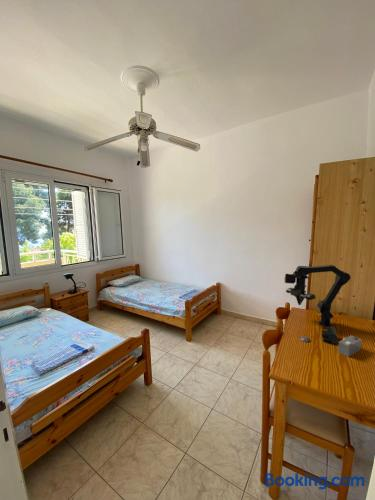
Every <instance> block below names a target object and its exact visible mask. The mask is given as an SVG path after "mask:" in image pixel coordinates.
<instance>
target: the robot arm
mask: <svg viewBox="0 0 375 500" xmlns="http://www.w3.org/2000/svg"><path fill="white" fill-rule="evenodd" d="M329 272H332V273H333V274H335V277H334V278H335V279H334V283H333V285H332V286H331V287H330V289H329V291H328V292H327V294H326V295H325V298H324V299H323V300H321V299H320V300H319V302H318V303H317V304H316V305H317V306H316V308H317V310H318V312H319V313H320V321H318V322H317V323H319V324H321V325H322V326H323V325H324V326H325V327H330V326H332V325H334V324H333V323H332V321H331V320H332V319H333V317H334V315H333V313H332V312H331V309H332V304H333V302H334V300H335V298H336V297H337V296H338V294H339V293H340V290H341V289H342V287H343V286H345V285H346V284H347V283H349V281H350V279H351V274H349V273H348V272H346V271H345V270H340V268H337V267H336V265H333V264H327V265H316V266H315V265H314V266H306V265H298V266H297V267H296V268H295V271H294V272H292V273H285V275H284V284H293V285H294V284H295V285H294V287H288V288H286V290H285V293H287V294H290V296H293V297H294V298H295V299H296V302H297V304H298V306H300V305H302V303H303V301H304V300H305V299H306V300H308V301H313V300H315V299H316V295H315V294H314V293H310V292H309V293H307V291H306V287H307V285H306V279H310V277H309V276H308V275H310V274H314V273H315V274H317V273H329Z"/></svg>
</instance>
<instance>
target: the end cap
mask: <svg viewBox="0 0 375 500" xmlns="http://www.w3.org/2000/svg"><path fill="white" fill-rule="evenodd" d="M321 331H322V332H321V338H322V342H323V343H326V344H330V345H333V344H336V343H337V342H339V338H338V335H337V330H336V328H335V327H334V326H332V325H330V326H325V325H324V326H323V325H322V330H321Z"/></svg>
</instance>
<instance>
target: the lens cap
mask: <svg viewBox="0 0 375 500" xmlns="http://www.w3.org/2000/svg"><path fill="white" fill-rule="evenodd" d="M299 339H300V340H301V341H302V342H304V343H309V342H311V339H310V338H309V337H308V336H305V335H304V336H303V335H301V336H300V337H299Z"/></svg>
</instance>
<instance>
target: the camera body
mask: <svg viewBox="0 0 375 500" xmlns="http://www.w3.org/2000/svg"><path fill="white" fill-rule="evenodd" d="M337 346H338V347H337V352H338V353H340V354H341V355H343V356H345V357H348V358H349V357H351V356H352V355H354V354H355V353H357V352H358V351H361V349H362V348H361V347H362V339H361V338H359V337H356V336H354V335H349V336H347V337H344V338H343V339H341V340H340V341H339V340H338V345H337Z"/></svg>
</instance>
